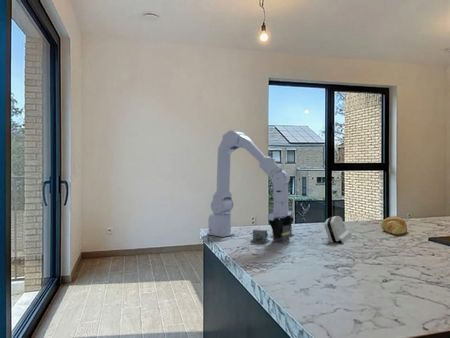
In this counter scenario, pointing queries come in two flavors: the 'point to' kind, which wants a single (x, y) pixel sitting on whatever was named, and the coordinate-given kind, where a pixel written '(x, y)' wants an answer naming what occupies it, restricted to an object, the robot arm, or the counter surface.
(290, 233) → the shaft
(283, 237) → the block
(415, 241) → the counter surface
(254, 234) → the shaft
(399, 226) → the bread loaf
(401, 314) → the counter surface
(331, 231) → the hinge
